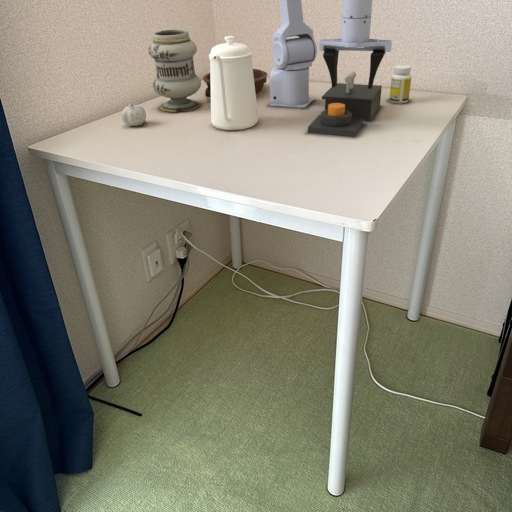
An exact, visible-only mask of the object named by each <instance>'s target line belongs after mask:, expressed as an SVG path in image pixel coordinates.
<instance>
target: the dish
mask: <svg viewBox="0 0 512 512" xmlns="http://www.w3.org/2000/svg"><path fill="white" fill-rule="evenodd" d="M253 75H254V84H255V93H256V95H257V94H258V93H260V92H262V91H263V89H264V85H265V84H266V83H267V78H268V73H267V72H266V71H265V70H261V69H258V68H253ZM202 80H203V82H204V83H205V84H206V86H207V87H206V88H205V90H204V91H205V92H204V93H205V97H207V98H209V99H211V86H210V72H209V73H207V74H204V76H203V77H202Z"/></svg>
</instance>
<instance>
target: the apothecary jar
mask: <svg viewBox="0 0 512 512" xmlns="http://www.w3.org/2000/svg"><path fill="white" fill-rule="evenodd" d="M197 52H198V47H197V44H196V42H195V41H194V40H193V39H191V37H190V35H189V31H188V30H186V29H182V28H179V29H176V28H174V29H163V30H159V31H156V32H153V34H152V42H151V43H150V45H149V46H148V55H149V56H150V57H151V59H153V60H154V65H155V72H156V78H155V79H154V80H153V83H152V88H153V90H154V92H155V93H156V94H158V95H159V96H161V97H164V98H168V99H169V100H168V101H166V102H163V103H162V104H161V105H160V110H162V111H164V112H167V113H180V112H188V111H193V110H195V109H197V108H199V103H198V102H197V101H196V100H194V99H193V100H192V99H190V98H188V97H191V96H193V95H195V94H196V93H197V92H198V91H199V89H200V88H201V86H202V81H201V79H200V77H199V76H198V75H197V74H196V70H195V64H194V63H195V62H194V56H195V55H196V54H197Z"/></svg>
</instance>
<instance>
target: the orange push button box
mask: <svg viewBox="0 0 512 512" xmlns="http://www.w3.org/2000/svg"><path fill="white" fill-rule="evenodd" d="M363 122H364V121H363V118H356V117H352V113H351V112H350V111H348V110H345V115H342V116H330V115H328V110H325V109H324V110H322V111H321V112H320V114H318V116H316V118H315V119H314V120H313V121H312V122H311V123H310V124H309V125H308V126H307V134H312V135H323V136H336V137H346V138H355V136H356V135H357V134H358V132H359V131H360V129H361V127H362V126H363Z"/></svg>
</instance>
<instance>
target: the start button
mask: <svg viewBox="0 0 512 512" xmlns="http://www.w3.org/2000/svg"><path fill="white" fill-rule="evenodd" d="M328 115H330V116H342V115H345V104H342V103H331V104H329V105H328Z"/></svg>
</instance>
